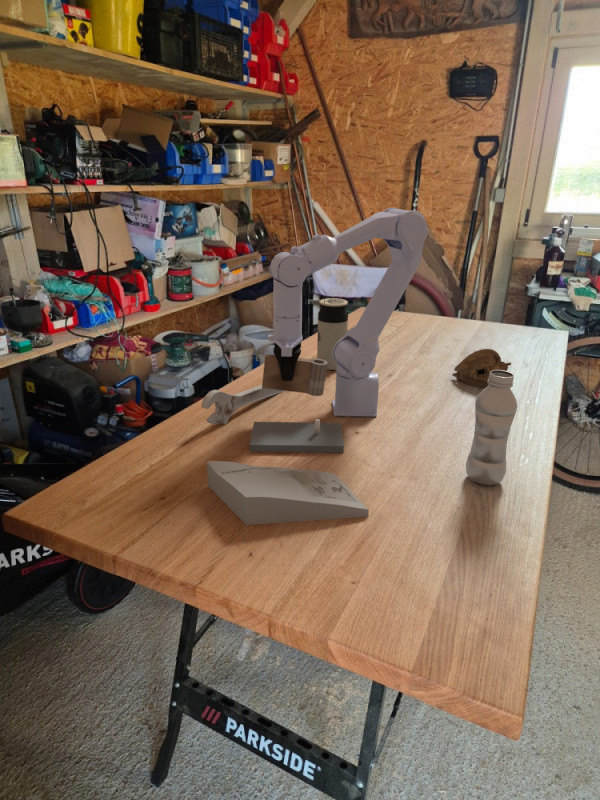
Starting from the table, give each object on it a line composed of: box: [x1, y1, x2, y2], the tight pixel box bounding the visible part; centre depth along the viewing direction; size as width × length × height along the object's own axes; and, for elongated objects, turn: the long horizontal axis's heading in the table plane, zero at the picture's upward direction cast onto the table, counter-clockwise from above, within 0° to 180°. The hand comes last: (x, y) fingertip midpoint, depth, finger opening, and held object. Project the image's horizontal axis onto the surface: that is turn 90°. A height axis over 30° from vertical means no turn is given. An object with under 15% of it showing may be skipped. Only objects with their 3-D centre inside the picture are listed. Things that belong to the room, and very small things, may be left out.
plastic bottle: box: [465, 370, 518, 486], centre depth 89 cm, size 6×7×20 cm
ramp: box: [206, 460, 370, 526], centre depth 86 cm, size 28×16×5 cm, turn 75°
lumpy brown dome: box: [451, 348, 512, 389], centre depth 141 cm, size 10×24×15 cm
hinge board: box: [249, 418, 345, 454], centre depth 105 cm, size 18×10×4 cm, turn 90°
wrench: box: [201, 384, 285, 425], centre depth 119 cm, size 8×2×30 cm
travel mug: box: [316, 297, 349, 371], centre depth 143 cm, size 8×8×18 cm
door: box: [261, 353, 328, 397], centre depth 111 cm, size 13×4×7 cm, turn 90°
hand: (287, 378), depth 111 cm, fingers closed on door, 2 cm apart
